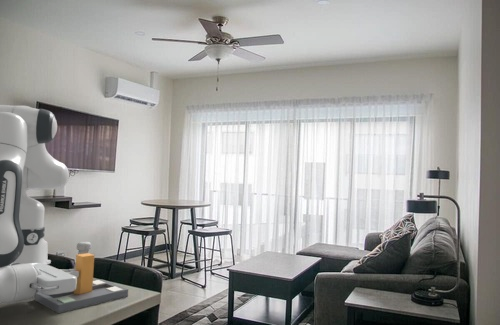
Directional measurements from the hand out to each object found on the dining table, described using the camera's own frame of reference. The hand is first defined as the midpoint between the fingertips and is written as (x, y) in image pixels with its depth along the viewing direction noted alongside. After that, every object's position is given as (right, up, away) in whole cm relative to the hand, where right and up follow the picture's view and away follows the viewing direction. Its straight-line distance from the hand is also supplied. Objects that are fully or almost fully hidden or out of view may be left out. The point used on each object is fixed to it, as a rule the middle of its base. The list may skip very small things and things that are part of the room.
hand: (76, 272), depth 106 cm
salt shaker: (-6, -8, +15) cm, 18 cm away
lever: (+1, -6, +1) cm, 7 cm away
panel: (+1, -8, +1) cm, 8 cm away
